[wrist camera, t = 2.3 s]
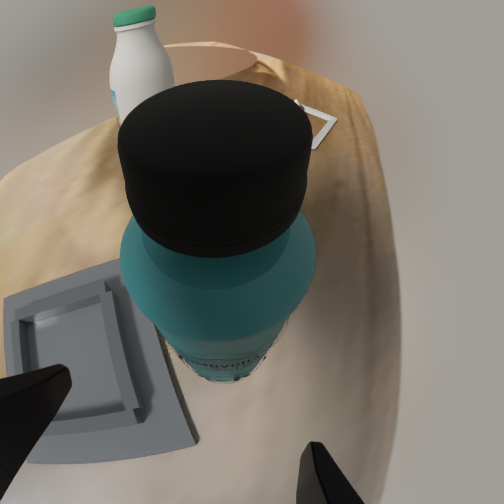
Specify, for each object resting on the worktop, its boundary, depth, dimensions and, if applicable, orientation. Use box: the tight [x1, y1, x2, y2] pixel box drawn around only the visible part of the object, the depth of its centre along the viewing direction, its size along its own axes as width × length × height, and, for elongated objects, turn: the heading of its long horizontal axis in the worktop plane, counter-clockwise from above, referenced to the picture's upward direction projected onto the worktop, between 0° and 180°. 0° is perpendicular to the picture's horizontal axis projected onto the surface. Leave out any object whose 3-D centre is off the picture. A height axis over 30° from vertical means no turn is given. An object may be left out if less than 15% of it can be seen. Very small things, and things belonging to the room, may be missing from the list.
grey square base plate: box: [3, 258, 197, 464], centre depth 18 cm, size 18×18×2 cm
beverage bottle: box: [117, 80, 316, 384], centre depth 13 cm, size 6×7×20 cm
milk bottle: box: [110, 6, 175, 128], centre depth 26 cm, size 8×8×20 cm
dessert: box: [292, 99, 338, 150], centre depth 38 cm, size 12×12×5 cm
